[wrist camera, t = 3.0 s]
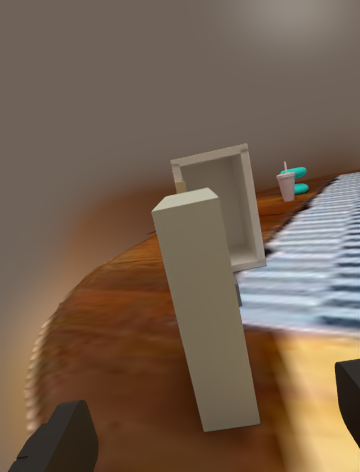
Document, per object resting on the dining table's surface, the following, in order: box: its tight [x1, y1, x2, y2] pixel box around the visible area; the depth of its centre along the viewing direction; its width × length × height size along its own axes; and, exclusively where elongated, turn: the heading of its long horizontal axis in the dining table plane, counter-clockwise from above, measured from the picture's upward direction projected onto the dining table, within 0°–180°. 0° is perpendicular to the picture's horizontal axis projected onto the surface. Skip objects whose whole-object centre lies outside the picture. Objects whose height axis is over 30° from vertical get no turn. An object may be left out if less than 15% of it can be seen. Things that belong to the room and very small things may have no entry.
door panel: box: [152, 188, 260, 432], centre depth 23 cm, size 4×10×16 cm, turn 178°
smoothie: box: [277, 162, 295, 202], centre depth 102 cm, size 6×6×14 cm
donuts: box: [280, 167, 308, 195], centre depth 115 cm, size 10×10×10 cm
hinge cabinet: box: [171, 143, 266, 306], centre depth 46 cm, size 14×24×20 cm, turn 178°
